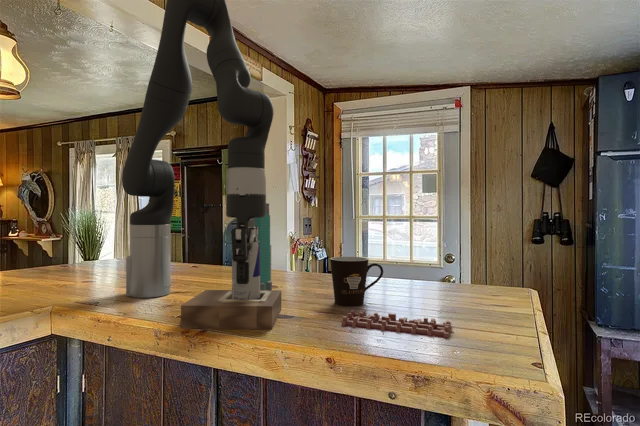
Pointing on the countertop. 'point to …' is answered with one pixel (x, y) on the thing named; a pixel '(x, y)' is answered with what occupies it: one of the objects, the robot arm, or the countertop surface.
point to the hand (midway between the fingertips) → (246, 280)
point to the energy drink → (253, 286)
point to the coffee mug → (351, 279)
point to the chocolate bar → (397, 324)
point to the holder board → (231, 311)
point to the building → (264, 250)
